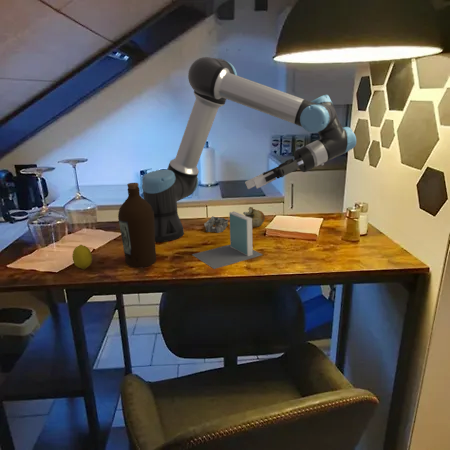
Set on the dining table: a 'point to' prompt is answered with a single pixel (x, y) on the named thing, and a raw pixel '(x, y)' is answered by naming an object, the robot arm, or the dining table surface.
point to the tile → (241, 233)
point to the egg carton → (216, 224)
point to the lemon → (82, 256)
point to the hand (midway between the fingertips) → (250, 185)
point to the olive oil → (137, 229)
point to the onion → (255, 216)
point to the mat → (223, 256)
